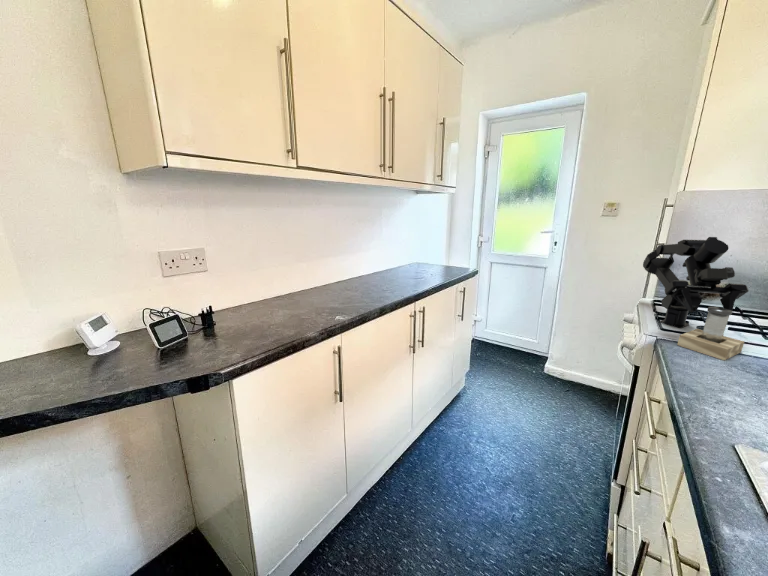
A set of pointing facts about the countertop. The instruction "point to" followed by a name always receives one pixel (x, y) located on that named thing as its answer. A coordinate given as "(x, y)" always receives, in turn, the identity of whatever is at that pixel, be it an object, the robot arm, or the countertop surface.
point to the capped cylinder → (715, 324)
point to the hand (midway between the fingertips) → (710, 313)
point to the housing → (710, 345)
